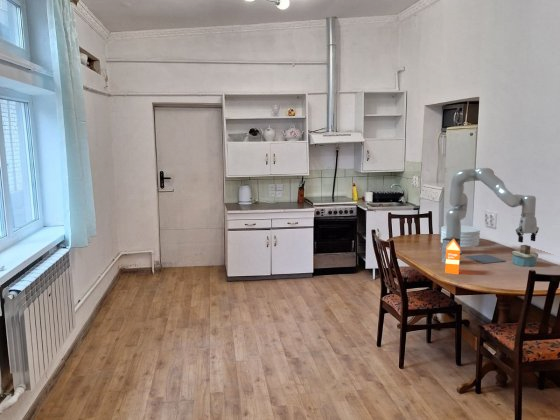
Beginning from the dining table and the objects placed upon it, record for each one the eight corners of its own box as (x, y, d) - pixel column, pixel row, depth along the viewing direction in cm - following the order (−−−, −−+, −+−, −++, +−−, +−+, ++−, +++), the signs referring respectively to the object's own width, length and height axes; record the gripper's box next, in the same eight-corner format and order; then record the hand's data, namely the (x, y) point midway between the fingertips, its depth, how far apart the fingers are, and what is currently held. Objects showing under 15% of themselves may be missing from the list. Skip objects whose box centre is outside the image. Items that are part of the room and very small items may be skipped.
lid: (524, 258, 282) (525, 249, 281) (506, 252, 296) (507, 243, 295) (543, 256, 286) (544, 247, 285) (525, 251, 300) (525, 242, 299)
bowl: (523, 267, 284) (524, 258, 283) (508, 262, 297) (508, 253, 296) (540, 265, 288) (541, 256, 287) (524, 260, 300) (525, 251, 299)
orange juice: (445, 272, 274) (446, 240, 271) (445, 269, 282) (446, 237, 279) (458, 274, 271) (460, 241, 268) (458, 270, 279) (460, 238, 276)
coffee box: (451, 260, 302) (452, 236, 299) (459, 262, 296) (460, 238, 294) (441, 262, 297) (442, 238, 295) (449, 264, 292) (450, 240, 289)
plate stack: (432, 240, 360) (433, 226, 359) (459, 237, 371) (460, 224, 369) (459, 248, 335) (460, 233, 333) (487, 244, 346) (488, 230, 344)
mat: (482, 263, 293) (482, 263, 293) (464, 256, 310) (464, 256, 310) (505, 261, 298) (505, 260, 298) (486, 254, 315) (486, 254, 315)
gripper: (521, 216, 281) (520, 243, 284) (544, 215, 286) (542, 241, 288) (512, 215, 288) (511, 241, 291) (534, 213, 293) (532, 239, 295)
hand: (526, 241), depth 290 cm, fingers open, 9 cm apart
